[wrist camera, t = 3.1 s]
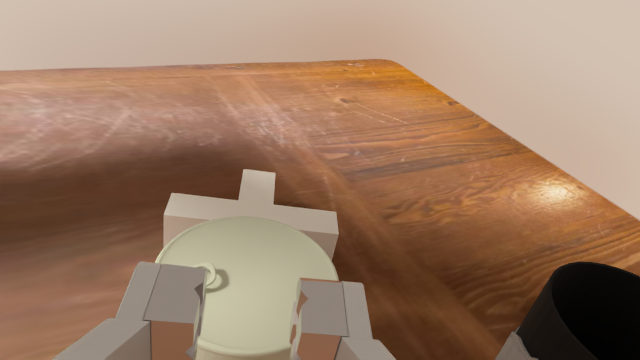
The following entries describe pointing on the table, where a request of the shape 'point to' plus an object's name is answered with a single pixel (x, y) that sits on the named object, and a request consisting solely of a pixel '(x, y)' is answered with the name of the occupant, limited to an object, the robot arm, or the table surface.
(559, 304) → the glass holder
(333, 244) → the T stop
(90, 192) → the table surface
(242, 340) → the can
